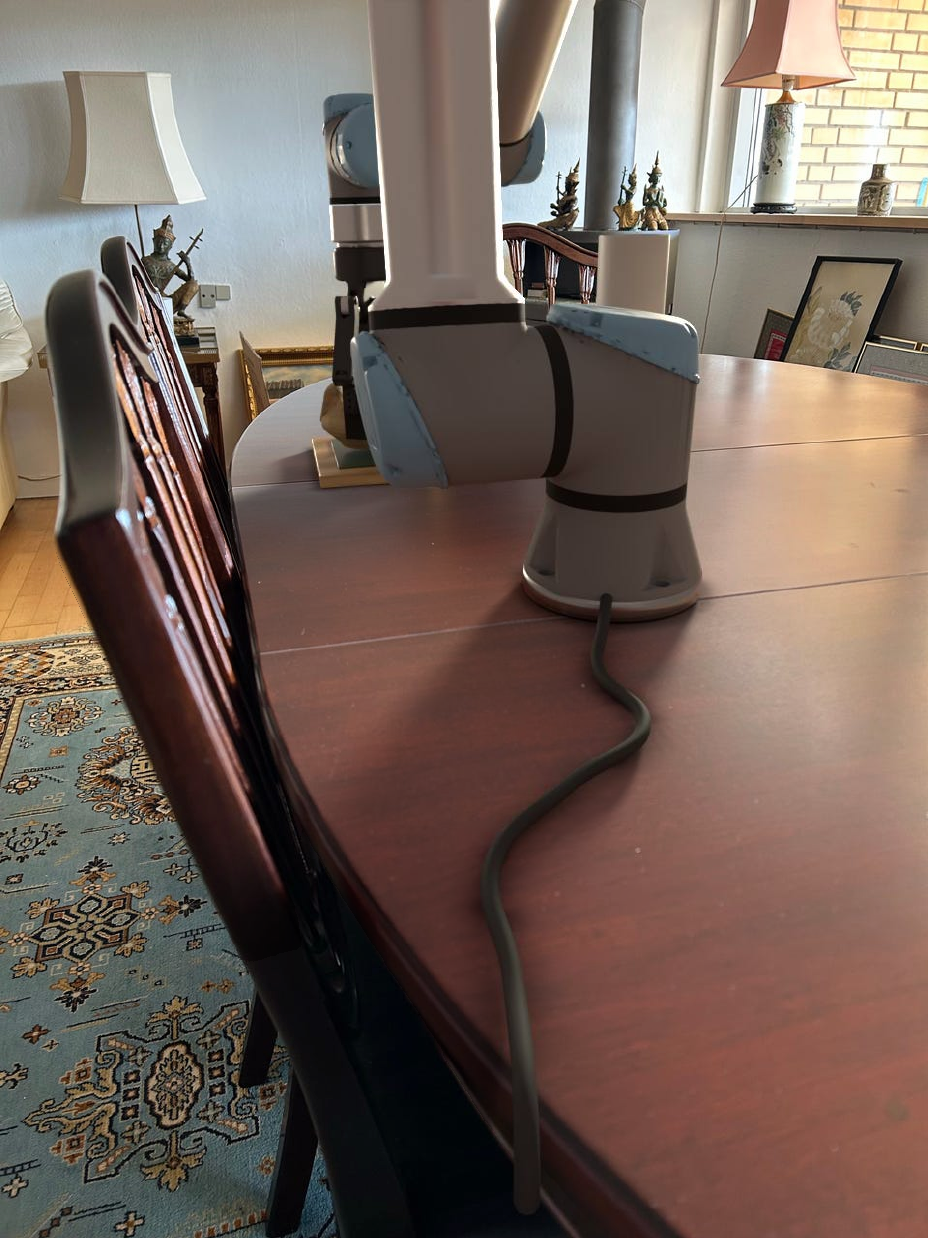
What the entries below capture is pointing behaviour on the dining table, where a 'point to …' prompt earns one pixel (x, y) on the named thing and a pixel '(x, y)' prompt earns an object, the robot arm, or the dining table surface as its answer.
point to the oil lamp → (337, 418)
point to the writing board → (344, 464)
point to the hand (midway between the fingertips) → (375, 428)
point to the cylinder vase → (633, 271)
